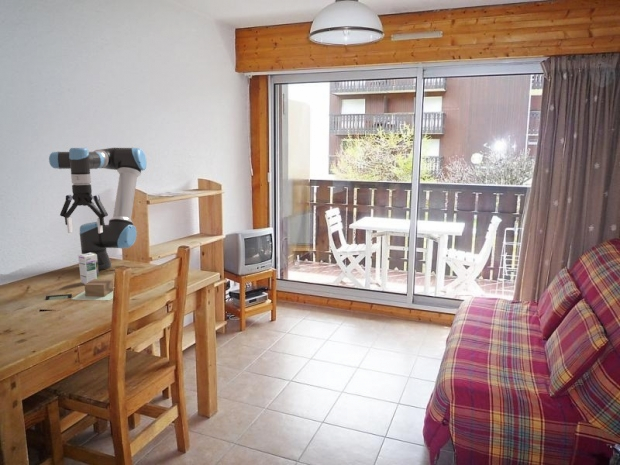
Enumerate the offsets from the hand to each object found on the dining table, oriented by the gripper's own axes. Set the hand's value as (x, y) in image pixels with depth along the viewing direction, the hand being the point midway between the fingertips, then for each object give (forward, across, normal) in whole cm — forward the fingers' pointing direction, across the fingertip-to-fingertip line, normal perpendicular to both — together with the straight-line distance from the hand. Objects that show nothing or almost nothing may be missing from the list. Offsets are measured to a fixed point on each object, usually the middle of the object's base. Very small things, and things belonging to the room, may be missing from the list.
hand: (85, 232), depth 210 cm
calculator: (+25, 0, -26) cm, 36 cm away
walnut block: (+23, +12, -15) cm, 30 cm away
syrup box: (+24, 0, 0) cm, 25 cm away
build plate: (+24, +12, -15) cm, 31 cm away
